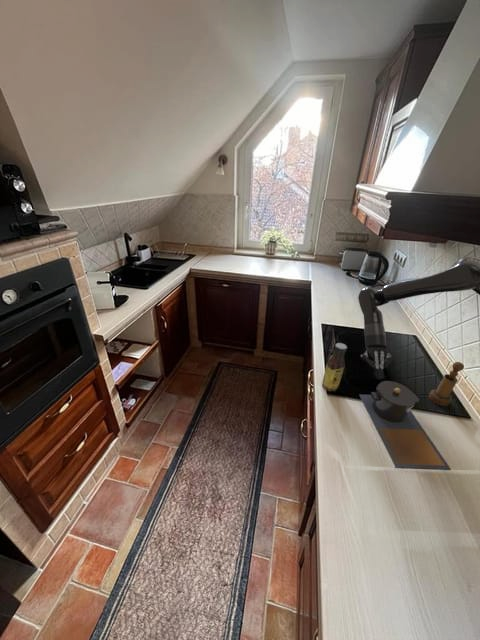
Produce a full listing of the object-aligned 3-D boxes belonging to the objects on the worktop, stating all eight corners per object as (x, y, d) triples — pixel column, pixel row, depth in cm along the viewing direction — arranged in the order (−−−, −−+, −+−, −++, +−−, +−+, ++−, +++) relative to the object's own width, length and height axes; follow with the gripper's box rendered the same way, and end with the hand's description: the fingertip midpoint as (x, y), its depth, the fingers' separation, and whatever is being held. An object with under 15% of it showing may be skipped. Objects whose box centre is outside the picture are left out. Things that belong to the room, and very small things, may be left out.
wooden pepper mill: (431, 390, 101) (451, 354, 92) (451, 400, 96) (474, 364, 87) (425, 398, 97) (446, 362, 88) (445, 409, 93) (469, 372, 84)
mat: (400, 396, 98) (400, 395, 97) (450, 470, 73) (451, 469, 73) (358, 395, 98) (358, 394, 98) (395, 468, 74) (395, 467, 73)
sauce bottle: (331, 395, 97) (343, 354, 88) (318, 385, 102) (328, 345, 92) (341, 387, 101) (353, 347, 91) (327, 378, 105) (338, 339, 95)
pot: (401, 397, 96) (410, 377, 91) (419, 424, 86) (431, 403, 81) (361, 396, 97) (368, 375, 91) (374, 422, 86) (383, 401, 81)
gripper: (362, 333, 99) (366, 378, 95) (396, 334, 99) (402, 379, 94) (354, 336, 106) (357, 378, 102) (385, 337, 106) (390, 380, 102)
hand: (379, 379), depth 98 cm, fingers closed
